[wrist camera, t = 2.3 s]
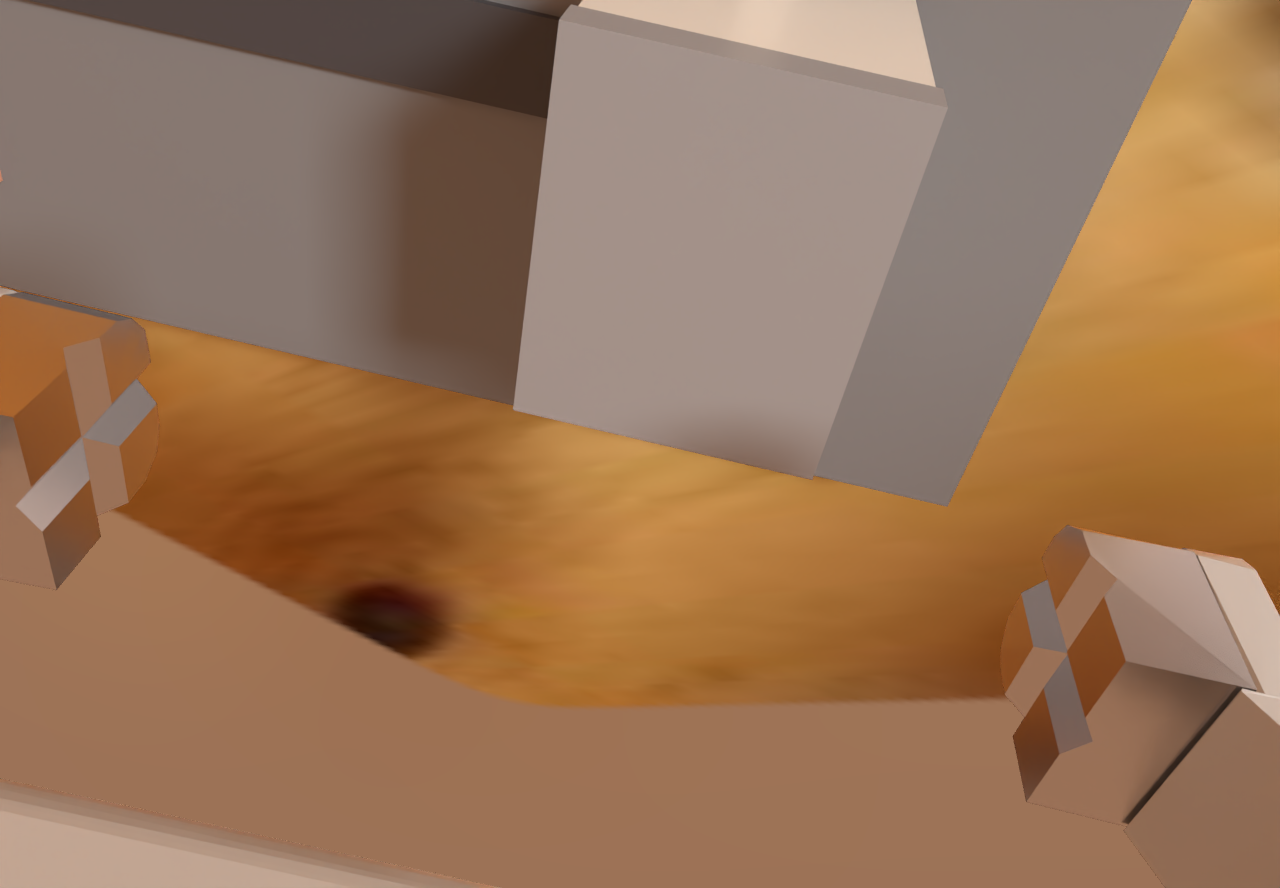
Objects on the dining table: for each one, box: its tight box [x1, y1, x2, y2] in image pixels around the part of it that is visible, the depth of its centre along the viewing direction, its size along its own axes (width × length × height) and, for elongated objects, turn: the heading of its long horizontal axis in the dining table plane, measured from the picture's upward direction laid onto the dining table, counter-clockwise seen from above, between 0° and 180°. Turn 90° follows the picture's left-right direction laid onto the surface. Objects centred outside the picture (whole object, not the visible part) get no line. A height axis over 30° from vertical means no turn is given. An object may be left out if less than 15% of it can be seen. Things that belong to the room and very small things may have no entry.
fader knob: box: [513, 0, 948, 480], centre depth 14 cm, size 4×5×5 cm
